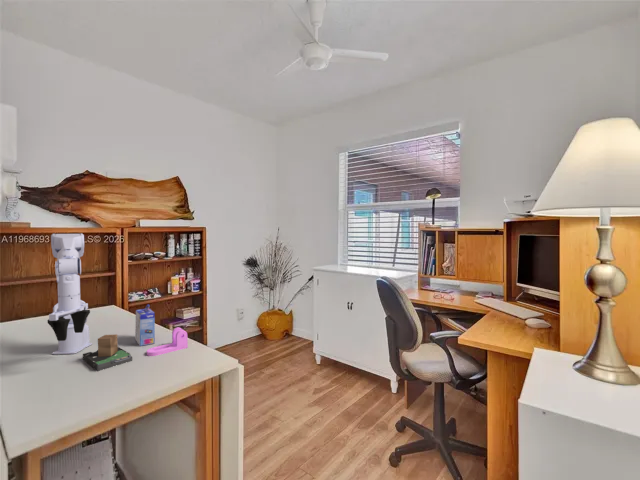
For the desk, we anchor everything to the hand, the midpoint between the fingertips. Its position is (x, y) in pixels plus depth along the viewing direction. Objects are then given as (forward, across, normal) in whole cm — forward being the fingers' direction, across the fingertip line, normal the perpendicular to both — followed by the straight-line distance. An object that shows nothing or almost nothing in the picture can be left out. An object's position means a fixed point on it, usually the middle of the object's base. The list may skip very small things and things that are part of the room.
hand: (70, 336), depth 102 cm
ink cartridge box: (+10, +20, -14) cm, 26 cm away
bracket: (+10, +10, -26) cm, 30 cm away
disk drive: (+10, +3, -10) cm, 14 cm away
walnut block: (+7, +3, -10) cm, 13 cm away
